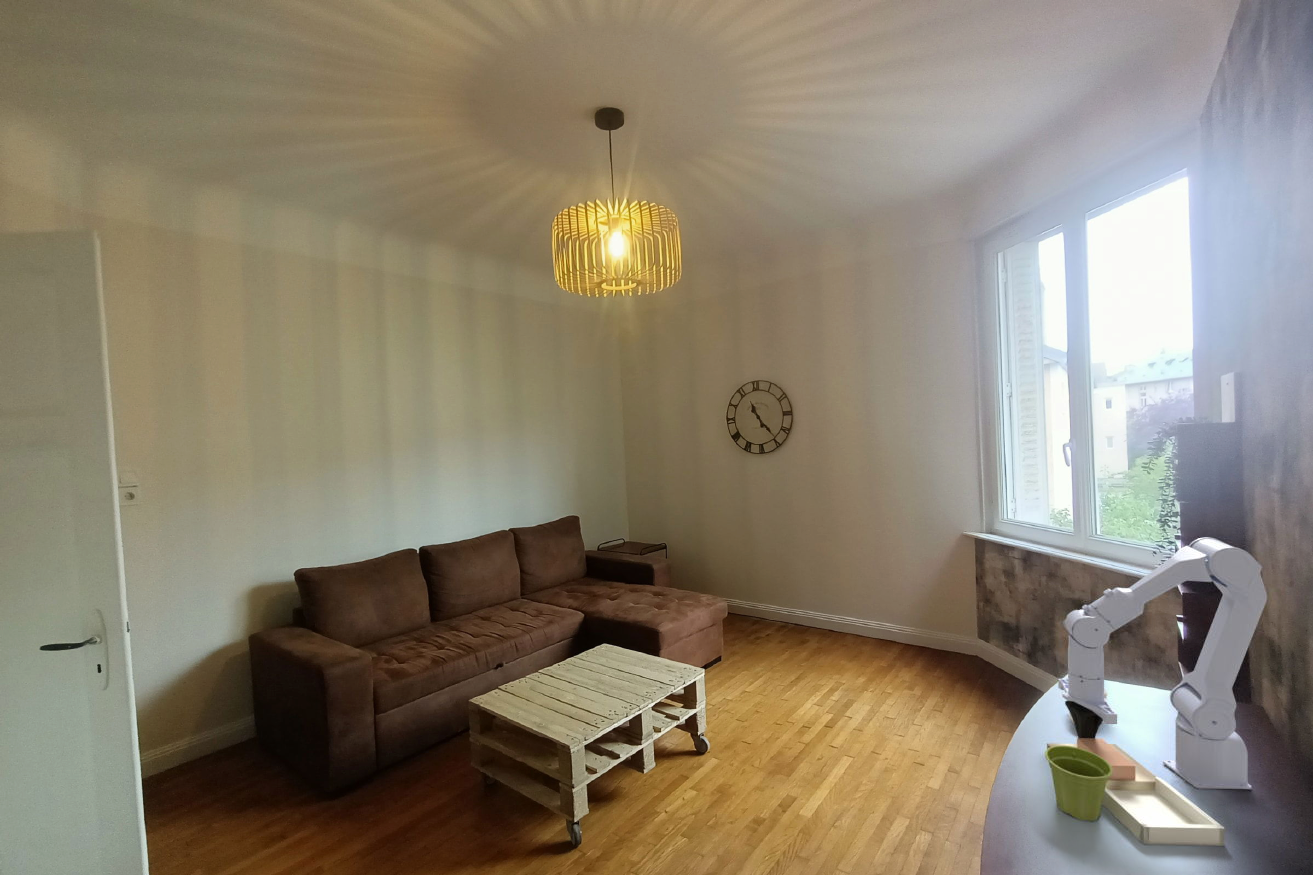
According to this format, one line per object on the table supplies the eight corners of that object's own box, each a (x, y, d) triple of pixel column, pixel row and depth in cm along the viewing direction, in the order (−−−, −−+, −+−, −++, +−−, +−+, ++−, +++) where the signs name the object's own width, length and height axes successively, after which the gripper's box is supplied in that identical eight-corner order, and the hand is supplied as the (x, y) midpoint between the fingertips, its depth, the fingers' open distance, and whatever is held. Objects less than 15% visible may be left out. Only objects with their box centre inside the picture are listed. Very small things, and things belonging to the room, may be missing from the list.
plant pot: (1125, 831, 96) (1125, 779, 95) (1060, 825, 97) (1060, 774, 97) (1094, 794, 105) (1094, 747, 104) (1036, 789, 107) (1035, 743, 106)
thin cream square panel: (1115, 753, 117) (1115, 743, 117) (1162, 792, 105) (1162, 781, 105) (1047, 752, 118) (1046, 743, 118) (1086, 791, 106) (1086, 780, 106)
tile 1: (1101, 750, 114) (1101, 738, 114) (1117, 764, 110) (1117, 751, 110) (1077, 750, 115) (1076, 737, 115) (1092, 764, 110) (1092, 751, 110)
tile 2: (1117, 764, 110) (1117, 751, 110) (1135, 779, 106) (1135, 765, 105) (1092, 764, 110) (1092, 751, 110) (1109, 778, 106) (1109, 765, 106)
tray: (1159, 792, 105) (1159, 777, 105) (1224, 845, 92) (1224, 828, 92) (1089, 791, 106) (1089, 776, 106) (1143, 843, 93) (1143, 826, 93)
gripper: (1042, 657, 123) (1043, 721, 123) (1088, 690, 108) (1089, 762, 109) (1078, 658, 122) (1078, 721, 123) (1129, 690, 108) (1129, 762, 108)
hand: (1086, 741), depth 116 cm, fingers closed
